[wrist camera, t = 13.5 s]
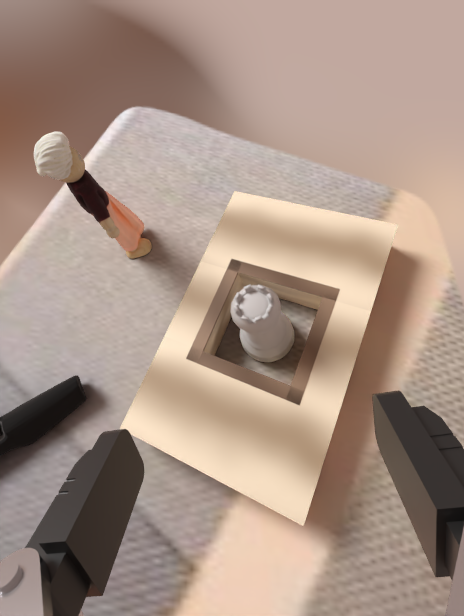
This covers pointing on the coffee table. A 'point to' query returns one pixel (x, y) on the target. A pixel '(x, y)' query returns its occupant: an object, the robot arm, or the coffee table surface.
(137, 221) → the grandmother figurine
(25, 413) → the electric trimmer
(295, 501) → the socket board
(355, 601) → the coffee table surface
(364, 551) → the coffee table surface
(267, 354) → the rook chess piece
